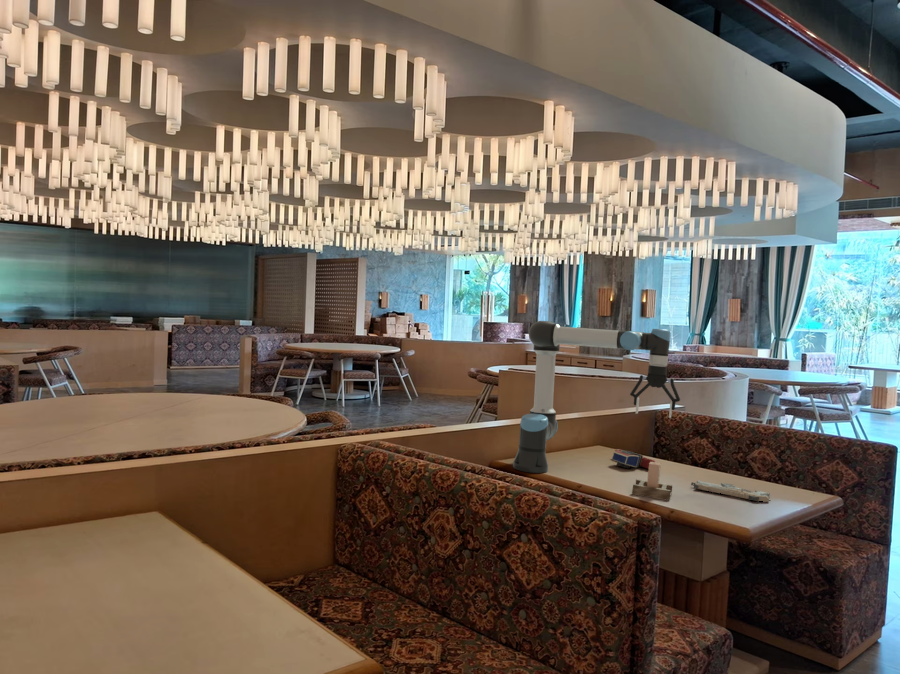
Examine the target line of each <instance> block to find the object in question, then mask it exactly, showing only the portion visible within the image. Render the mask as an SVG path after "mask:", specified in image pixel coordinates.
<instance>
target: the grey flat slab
mask: <svg viewBox="0 0 900 674" xmlns="http://www.w3.org/2000/svg"><path fill="white" fill-rule="evenodd" d="M690 486H693V488H694V489H696V490H702V491H707V492H708V491H709V493H711V492H712V493H713V494H714V493H716V494H720V493H721V494H723V495H727V496H730V497H731V496H732V497H737V498H741V499H746V500H748V501H755V502H759V501H763V502H762V503H766V502H769V501H770V500H769V499H770V496H771V494H770V492H766V491H763V490H755V489H754V491H752V490H750V489H746V488H739V487H737V486H736V485H734V484H731V483H726V482H721V483H720V484H717V483H712V482H707V481H703V480H696V482H691V485H690ZM712 493H711V494H712Z"/></svg>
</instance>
